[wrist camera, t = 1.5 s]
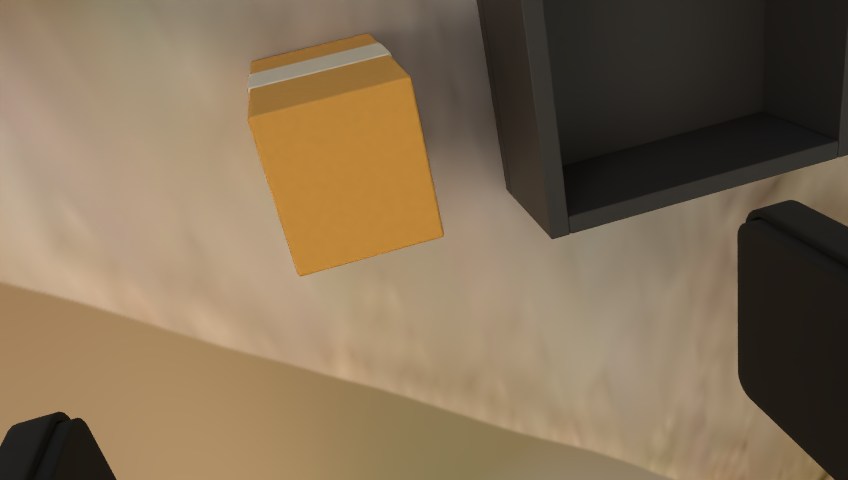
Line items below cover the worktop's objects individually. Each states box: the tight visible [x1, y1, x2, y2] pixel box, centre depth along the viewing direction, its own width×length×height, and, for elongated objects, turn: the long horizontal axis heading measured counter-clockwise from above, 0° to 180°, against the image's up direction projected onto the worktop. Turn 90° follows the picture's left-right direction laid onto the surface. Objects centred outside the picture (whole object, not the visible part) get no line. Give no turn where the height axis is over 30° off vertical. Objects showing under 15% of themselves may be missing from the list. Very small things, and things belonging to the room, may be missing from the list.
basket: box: [477, 0, 848, 239], centre depth 29 cm, size 14×12×6 cm
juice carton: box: [247, 33, 444, 276], centre depth 26 cm, size 6×5×9 cm
